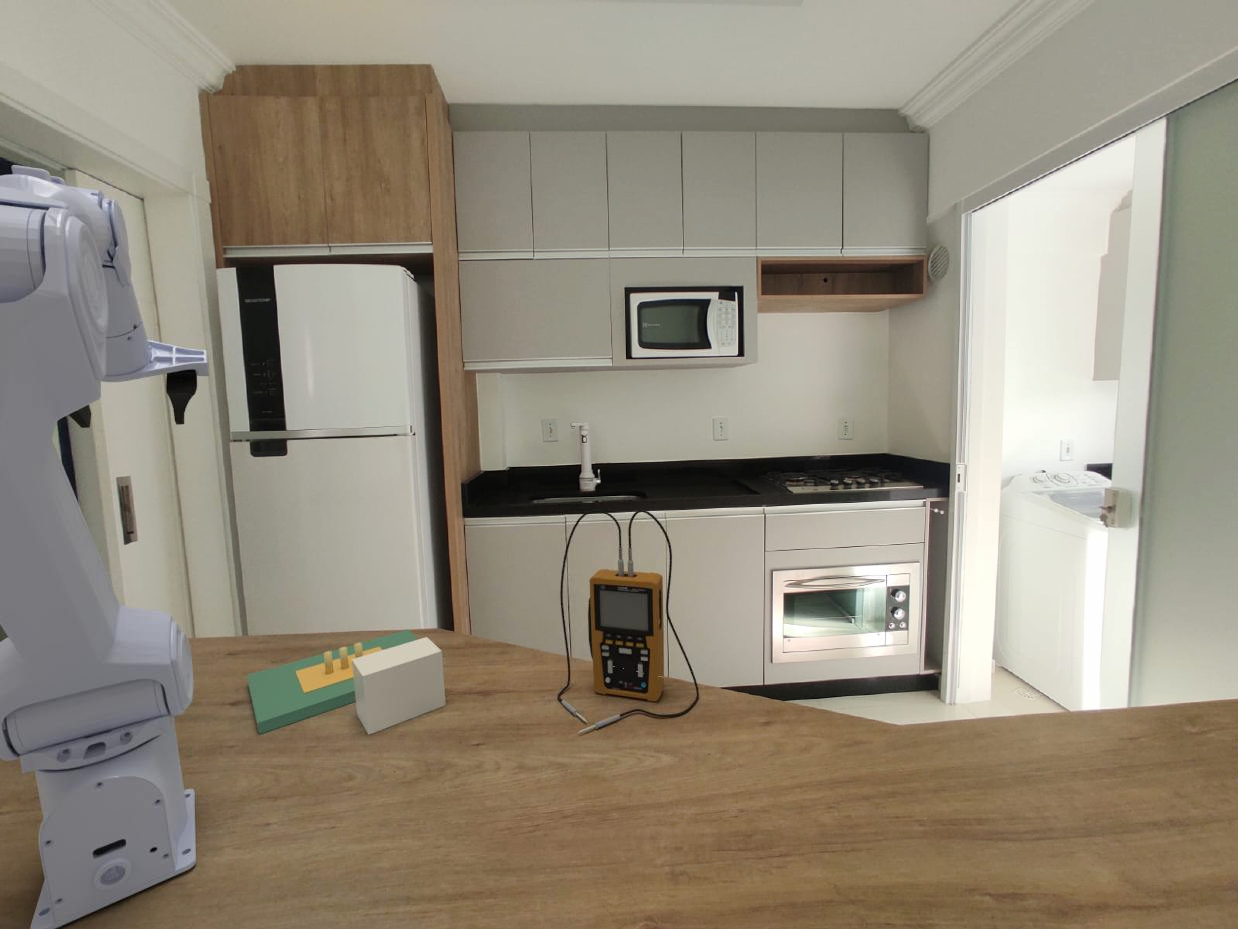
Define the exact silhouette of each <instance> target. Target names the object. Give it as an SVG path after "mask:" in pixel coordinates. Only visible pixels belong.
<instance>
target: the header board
mask: <svg viewBox="0 0 1238 929" xmlns="http://www.w3.org/2000/svg"><path fill="white" fill-rule="evenodd" d="M405 630H406V631H404V630H402V631H397V632H394V633H391V634H388V635H384V636H380V637H376V638H372V639H370V640H366V641H363V642H360V641H359V642H356V643H354V644H352V645H349V646H341V647H339V648H337V649H335V650H327V651H324V652H323V653H320V654H317V655H313V656H310V657H307V658H302V659H299V660H295V661H292V662H289V663H285V664H281V665H278V666H274V667H270V668H267V669H264V670H259V671H257V672H253V673H250V674H247V675H246V676H247V678H246V679H247V685H248V690H249V694H250V698H251V699H250V700H251V704H252V708H253V712H254V717H255V721H256V725H257V732H258V734H259V735H261V734H265V733H267V732H270V731H273V730H277V729H279V728H282V727H285V726H288V725H290V724H294V723H296V722H299V721H302V720H305V719H309V718H311V717H313V716H317V715H320V714H323V713H326V712H328V711H331V710H335V709H337V708H340V707H342V706H346V705H349V704H351V703H356V698H355V687H354V677H353V667H352V659H355V658H358V657H362V656H365V655H368V654H372V653H375V652H378V651H382V650H385V649H388V648H392V647H395V646H398V645H402V644H405V643H408V642H412V641H415V640H419V639H418V638H417V637H416V636H415V634H413V633H412V632H411V631H410V630H409V629H405Z"/></svg>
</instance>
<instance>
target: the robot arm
mask: <svg viewBox="0 0 1238 929" xmlns="http://www.w3.org/2000/svg"><path fill="white" fill-rule="evenodd" d="M11 171H12V172H11V173H12V174H3V175H2V174H1V175H0V626H1V627H2V629H3V631H4V633H5V634H6V635H7V637H6V638H4V639H3V640H1V641H0V759H1V760H3V761H5V762H10V761H15V760H18V759H19V763H20V767H21V772H22V774H27V773H30V772H34V774H35V781H36V786H37V790H38V797H39V803H40V808H41V813H42V821H41V823H40V826H39V830H38V848H39V855H40V860H41V866H42V870H43V876H44V880H43V884H42V887H41V890H40V894H39V898H38V901H37V903H36V907H35V910H34V914H33V917H32V920H31V924H30V928H29V929H58V928H60V927H62V926H63V925H66V924H69V923H72V922H73V921H75V920H78V919H80V918H82V917H85V916H87V915H90V914H92V913H93V912H96V911H99V910H101V909H102V908H105V907H107V906H109V905H112V904H114V903H116V902H118V901H120V900H123V899H125V898H127V897H130V896H132V895H134V894H136V893H139V892H142V891H144V890H145V889H147V888H150V887H152V886H154V885H157V884H159V883H161V882H164V881H166V880H168V879H170V878H172V877H175V876H177V875H179V874H182V873H184V872H186V871H188V870H190V869H192V868H193V867H194V866H195V864H196V863H197V849H196V848H197V846H196V845H197V843H196V842H197V841H196V840H197V839H196V799H195V798H196V797H195V796H196V794H195V789H194V788H188V789H185V787H184V780H183V774H182V768H181V767H182V766H181V760H180V752H179V746H178V739H177V732H176V726H175V724H176V723H175V717H176V716H179V715H183V714H184V713H185V711H187V710H186V709H187V708H188V707H189V706H190V705H191V703H192V702H193V699H194V669H193V668H194V667H193V659H192V658H193V657H192V651H191V650H192V649H191V646H190V640H189V638H188V635H187V633H186V632H184V631H182V630H181V628H180V626H179V623H178V622H177V621H176V620H174V619H173V616H172V614H171V613H168V612H164V611H159V610H152V609H146V608H139V607H138V608H137V607H133V606H126V605H122V604H120V602H119V600H118V597H117V595H116V592H115V590H114V587H113V585H112V582H111V580H110V578H109V575H108V573H107V571H106V568H105V566H104V563H103V561H102V558H101V555H100V552H99V551H98V548H97V546H96V543H95V541H94V539H93V537H92V534H91V532H90V529H89V526H88V523H87V522H86V519H85V517H84V514H83V512H82V509H81V507H80V505H79V502H78V500H77V498H76V495H75V492H74V490H73V487H72V485H71V482H70V480H69V477H68V476H67V475H68V474H67V473H66V470H65V468H64V464H63V463H62V460H61V457H60V455H59V452H58V451H57V447H56V446H55V444H54V443H55V442H54V441H53V438H54V434H55V430H56V426H57V423H58V421H59V420H61V419H62V418H64V417H67V416H68V417H70V418H71V419H72V420H73V421H74V422H75V423H76V424H77V425H79V427H80V428H81V429H85V428H87V429H88V428H91V420H92V411H91V408H90V405H91V404H93V403H95V402H97V401H98V400H100V399H101V398H102V382H103V383H122V382H128V381H133V380H134V381H135V380H140V379H144V378H149V377H156V376H160V375H161V376H162V375H165V374H166V378H165V380H166V381H165V382H166V383H165V390H166V392H165V393H166V394H167V396H168V398H169V400H170V401H169V402H171V406H172V410H173V416H174V417H173V419H174V422H175V425H178V426H179V425H185V414H186V409H187V406H188V405H189V403H190V400H191V399H192V398H193V397H194V396H195V395H196V392H197V389H198V377H210V362H209V356H208V350H207V349H195V348H187V347H183V346H178V345H173V344H169V343H164V342H161V341H155V340H149V339H148V336H147V333H146V332H147V331H146V329H145V325H144V322H143V317H142V314H141V310H140V306H139V303H138V300H137V297H136V292H135V289H134V286H133V282H132V263H131V258H130V254H129V250H130V249H129V238H128V231H127V227H126V226H127V225H126V221H125V218H124V214H123V211H122V209H121V206H120V204H119V202H118V200H117V199H116V198H112V200H111V199H110V198H106V197H105V194H104V193H103V191H102V190H101V189H100V190H98V189H92V188H91V189H90V188H84V187H79V186H78V187H76V186H69V185H67V183H66V181H65V179H64V178H62V177H59V176H54V175H51V173H50V172H49V171H48V170H45V169H43V168H37V167H31V166H23V165H18V164H13V165H11Z"/></svg>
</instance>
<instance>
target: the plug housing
mask: <svg viewBox="0 0 1238 929" xmlns="http://www.w3.org/2000/svg"><path fill="white" fill-rule="evenodd" d="M352 667H353V677H354V687H355V698H356V701H355V707H356V715H357V717H358V719H359V721H360V722H361V725H362V726H363V728H364V730H365V732H366V733H367V735H368V736H369V735H372V734H375V733H377V732H380V731H382V730H385V729H388V728H390V727H393V726H395V725H398V724H400V723H404V722H406V721H408V720H411V719H413V718H416V717H418V716H422V715H425V714H427V713H429V712H432V711H434V710H437V709H440V708H442V707H446V706H447V705H446V692H445V691H446V690H445V681H444V680H445V679H444V665H443V652H442V650H441V648H439V647H438V646H437V645H436V644H435V643H434V642H433V641H432V640H431V639H429V637H427V636H426V637H422V638H419V639H418V640H415V641H412V642H408V643H405V644H402V645H398V646H395V647H392V648H388V649H385V650H382V651H378V652H375V653H372V654H368V655H365V656H362V657H358V658H355V659H352Z"/></svg>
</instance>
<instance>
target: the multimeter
mask: <svg viewBox="0 0 1238 929" xmlns="http://www.w3.org/2000/svg"><path fill="white" fill-rule="evenodd" d="M592 513H599V514H603V515H604V514H605V515H607V516H608V517H610V518H611V519H612V520H613V521H614V522H615V524H616V527H617V530H618V561H617V570H613V569H612V570H611V569H607V568H606V569H603V568H601V569H600V570H597V571H596V572H595V573H594V574H593V575H592V576H591V577H590V578H589V599H588V607H587V621H588V622H587V626H588V628H587V629H588V630H587V631H588V644H589V651H590V656H591V660H592V668H593V670H592V671H593V690H595V692H596V693H597V694H601V695H605V696H606V695H607V694H608V695H614V696H623V697H629V698H637V699H642V700H643V699H644V700H647V702H657V701H658V700H659V699H660V697H661V695H662V692H663V690H664V688H665V651H664V650H665V648H664V646H665V644H664V643H665V642H664V640H665V638H664V635H665V633H664V632H665V631H664V628H665V627H664V587H663V586H664V582H663V576H662V574H660V573H658V572H642V571H641V572H640V571H634V561H633V554H632V553H633V548H632V524H633V521H634V519H635V517H636V516H637V515H638V514H640V513H643V514H647V515H648V516H649V517H650V518H652V519H653V520H654V521H655V523H657V525H658V526H659V528H660V529H661V530H662V533H663V535H664V537H665V539H666V541H667V542H666V543H667V545H668V552H669V565H668V568H669V569H668V579H667V591H666V600H665V615H666V618H667V620H668V623H669V626H670V628H671V631H672V632H673V634H674V637H675V639H676V641H677V643H678V646H679V648H680V650H681V652H682V655H683V656H684V659H685V661H686V664H687V666H688V669H689V671H690V672H689V673H690V674H691V677H692V679H693V683H694V687H695V691H696V692H695V693H696V696H695V699H694V701H693V702H692V703H691V705H690V706H689V707H687V708H686V709H685V710H683V711H680V712H678V713H677V712H676V713H672V714H671V713H670V714H669V713H668V714H658V713H655V712H654V713H653V712H651V711H647V710H645V709H642V708H635V709H631V710H628V711H625V712H622V713H621V714H614V715H612V716H609V717H606V718H604V719H601V720H600V721H595V722H594V724H593V725H592V726H588V727H586V728H583V729H581V730H579V731H578V732H577V734H581V733H583V732H586V731H588V730H591V729H593V728H594V729H596V730H597V729H599V728H600V727H603V726H606V725H608V724H610V723H612V722H615V721H617V720H619V719H620V718H621V717H624V716H626V715H630V714H631V713H635V712H636V713H637V712H639V713H643V714H645V715H649V716H653V717H656V718H673V717H679V716H682V715H684V714H687V713H688V712H690V711H691V710H692V709H693V707H694V706H696V704H697V703H698V701H699V697H700V692H699V686H698V682H697V679H696V676H695V673H694V670H693V668H692V665H691V664H690V661H689V659H688V658H689V657H688V656H687V654H686V652H685V649H684V647H683V645H682V642H681V641H680V639H679V636H678V634H677V631H676V630H675V627H674V624H673V622H672V619H671V616H670V612H669V601H670V589H671V582H672V581H671V580H672V572H673V570H672V568H673V553H672V552H673V551H672V544H671V541H670V539H669V536H668V533H667V532H666V530H665V527H664V526H663V525H662V523H661V522H660V521H659V519H658V518H656V516H655V515H653V514H652V513H651V512H649V511H647V510H644V509H639V510H637V511H635V512H634V513H633V515H632V516H631V518H630V521H629V523H628V524H629V525H628V530H627V531H628V548H627V549H628V550H627V551H628V552H627V553H628V561H627V570H626V571H625V567H624V566H625V563H624V559H623V547H622V529H621V526H620V523H619V522H618V520H617V519H616V518H615V517H614V516H613V515H612V514H611V513H609V512H607V511H604V510H600V509H593V510H588V511H586V512H584V513H582V515H581V516H579V518H578V519H577V520H576V522H575V523H574V525H573V527H572V529H571V531H570V534H569V537H568V540H567V543H566V547H565V551H564V556H563V560H562V561H563V562H562V568H561V575H560V577H561V578H560V592H559V594H560V595H559V597H560V599H559V600H560V609H561V610H560V612H561V620H562V629H563V634H564V635H563V636H564V644H565V650H566V661H567V662H566V663H567V683H566V685H565V687H563V688H562V689H561V690H560V691H559V693H558V694H557V697H556V698H557V700H558V701H560V703H561V704H562V706H564V707H565V708H566V709H567V710H568V711H569V712H570V713H572V714H573V716H574V717H577V716H578V717H579V718H580V719H581V720H582V721H583V722H584V723H585V722H586V723H588V721H587V719H585V718H584V717H583V716H582V715H581V714H580V711H579V710H578V709H576V708H575V707H573V706H572V705H571V704H570V703H569V702H568V701H566V700H564V699H562V698H561V697H560V696H562V694H563V692H565V691H567V689H568V688H569V686H570V684H571V660H570V652H569V643H568V635H567V628H566V621H565V612H564V611H565V610H564V595H563V592H564V577H565V569H566V563H567V562H566V561H567V556H568V552H569V547H570V544H571V541H572V537H573V535H574V532H575V531H576V528H577V527H578V525H579V523H580V521H582V520H583V518H584V517H586V516H587V515H590V514H592ZM613 666H615V667H613ZM623 668H624V669H623ZM636 671H639V672H636ZM643 673H644V674H643ZM658 676H663V677H664V678H662V677H658ZM696 702H697V703H696Z"/></svg>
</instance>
